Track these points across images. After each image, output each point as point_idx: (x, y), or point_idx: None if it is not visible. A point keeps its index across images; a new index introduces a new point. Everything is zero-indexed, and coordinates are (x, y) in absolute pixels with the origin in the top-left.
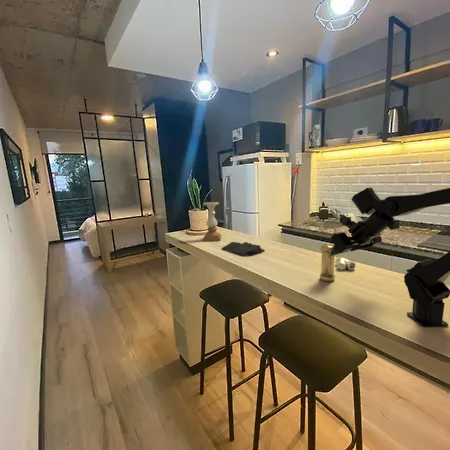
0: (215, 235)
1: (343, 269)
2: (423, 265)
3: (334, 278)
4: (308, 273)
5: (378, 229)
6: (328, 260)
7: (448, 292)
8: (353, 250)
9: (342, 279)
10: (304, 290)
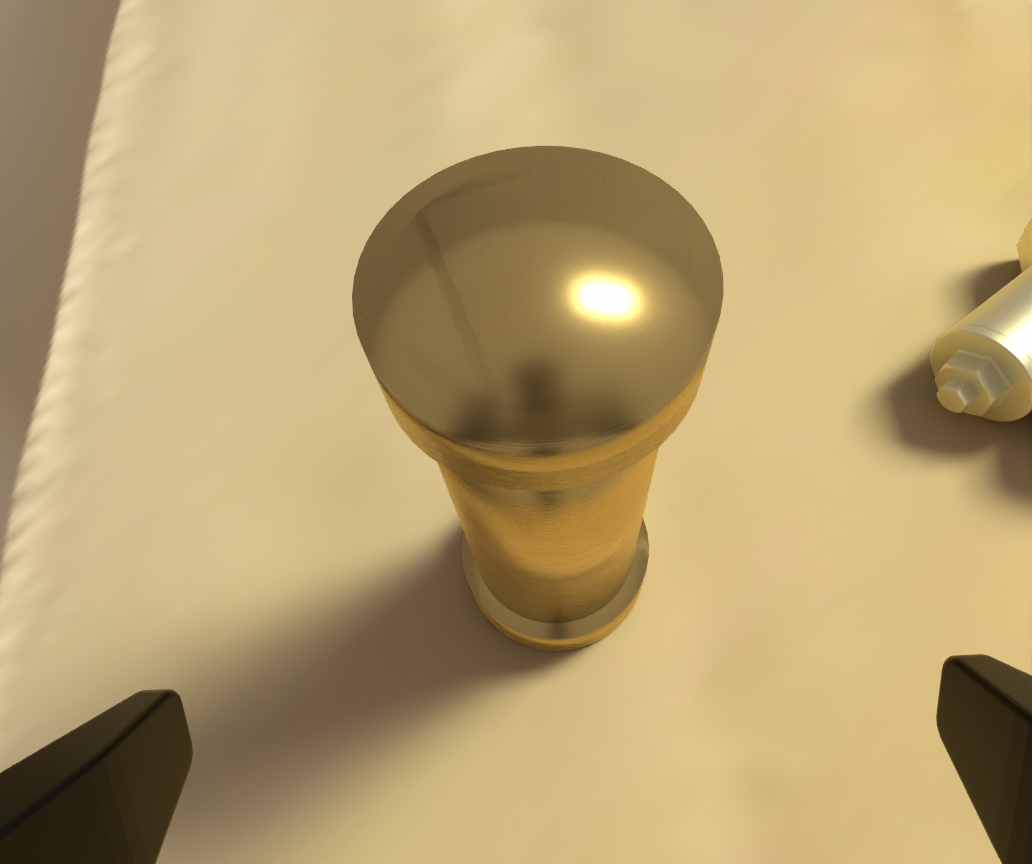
0: None
1: (986, 415)
2: None
3: (601, 632)
4: None
5: None
6: (469, 515)
7: None
8: (1001, 847)
9: (735, 653)
10: (63, 693)
